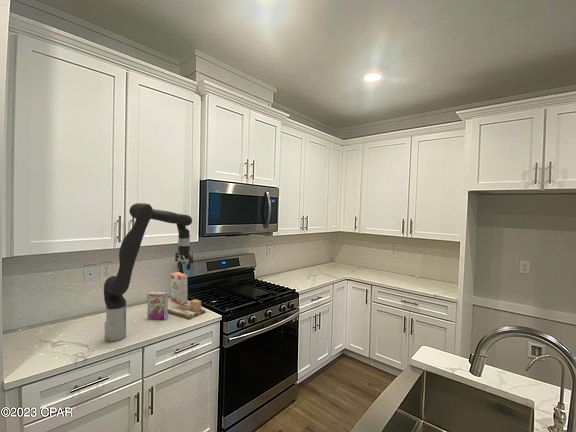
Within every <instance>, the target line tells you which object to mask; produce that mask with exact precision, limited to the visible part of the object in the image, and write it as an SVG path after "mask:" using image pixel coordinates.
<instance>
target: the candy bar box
mask: <svg viewBox="0 0 576 432" xmlns="http://www.w3.org/2000/svg"><path fill="white" fill-rule="evenodd" d="M168 298H169V292H164V291H160V292H159V291H150V292H149V293H147V320H154V321H155V320H156V321H165V320H167V319H168V316H169V313H168V309H169V304H168V303H169V302H168V301H169V299H168Z"/></svg>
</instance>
